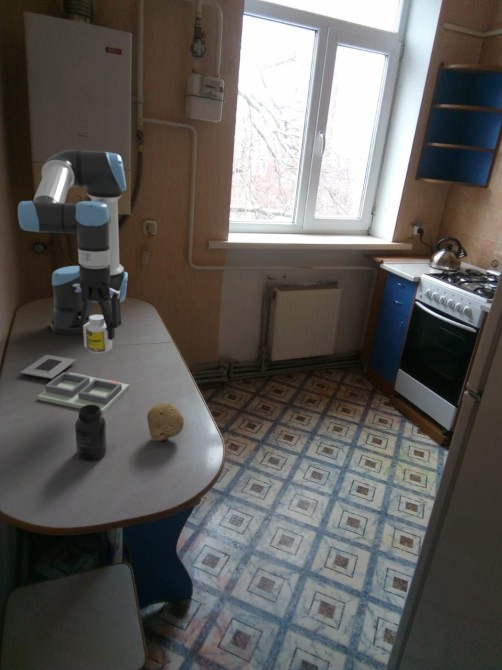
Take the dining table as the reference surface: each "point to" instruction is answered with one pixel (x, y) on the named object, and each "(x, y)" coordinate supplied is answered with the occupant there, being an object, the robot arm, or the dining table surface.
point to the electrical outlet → (48, 366)
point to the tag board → (83, 391)
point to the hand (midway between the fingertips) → (98, 347)
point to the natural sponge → (164, 421)
